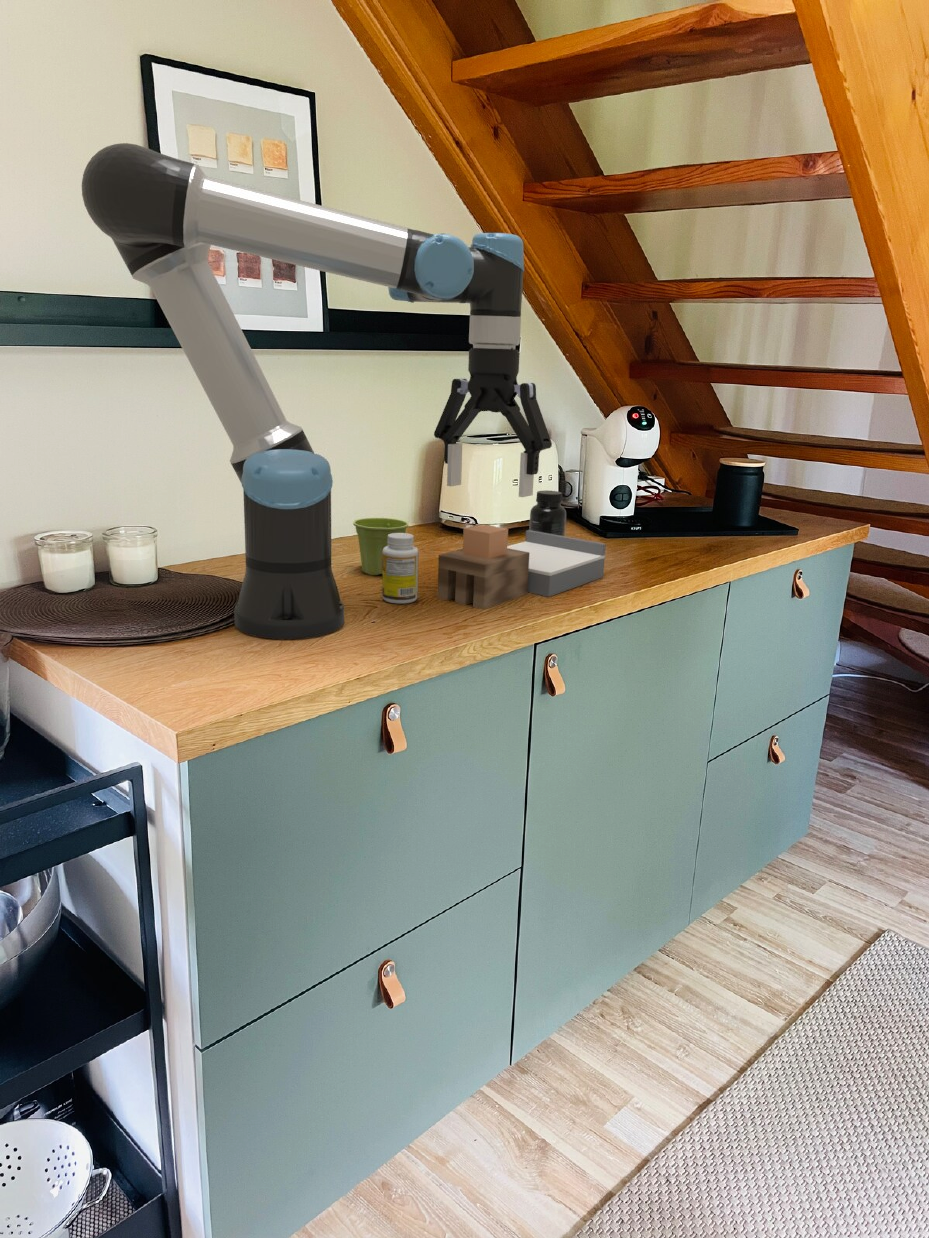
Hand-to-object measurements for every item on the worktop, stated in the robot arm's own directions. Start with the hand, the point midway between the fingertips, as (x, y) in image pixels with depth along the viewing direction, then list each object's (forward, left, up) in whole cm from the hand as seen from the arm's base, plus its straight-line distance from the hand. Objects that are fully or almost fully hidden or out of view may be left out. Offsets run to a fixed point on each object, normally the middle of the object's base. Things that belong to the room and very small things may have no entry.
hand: (488, 490), depth 141 cm
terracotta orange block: (0, 0, -10) cm, 10 cm away
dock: (+16, 0, -17) cm, 23 cm away
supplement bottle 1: (-11, +8, -17) cm, 22 cm away
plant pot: (0, +22, -17) cm, 28 cm away
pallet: (0, 0, -17) cm, 17 cm away
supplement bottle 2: (+33, +9, -17) cm, 38 cm away
